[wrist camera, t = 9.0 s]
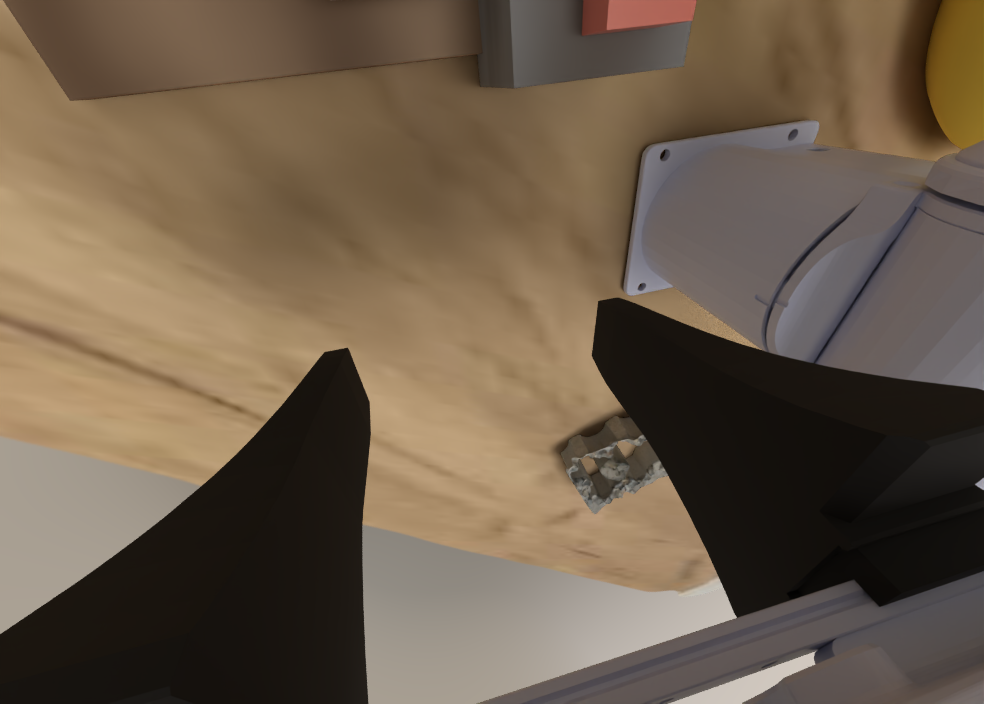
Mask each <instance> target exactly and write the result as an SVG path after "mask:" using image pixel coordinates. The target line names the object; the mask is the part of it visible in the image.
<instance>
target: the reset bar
mask: <svg viewBox="0 0 984 704" xmlns="http://www.w3.org/2000/svg"><path fill="white" fill-rule="evenodd" d="M696 1H697V0H583V19H582V36H586V35H595V34H604V33H613V32H621V31H630V30H639V29H648V28H657V27H663V26H668V25H673V24H677V23H682V22H687V21H692V20H693V17H694V12H695V6H696Z"/></svg>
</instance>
